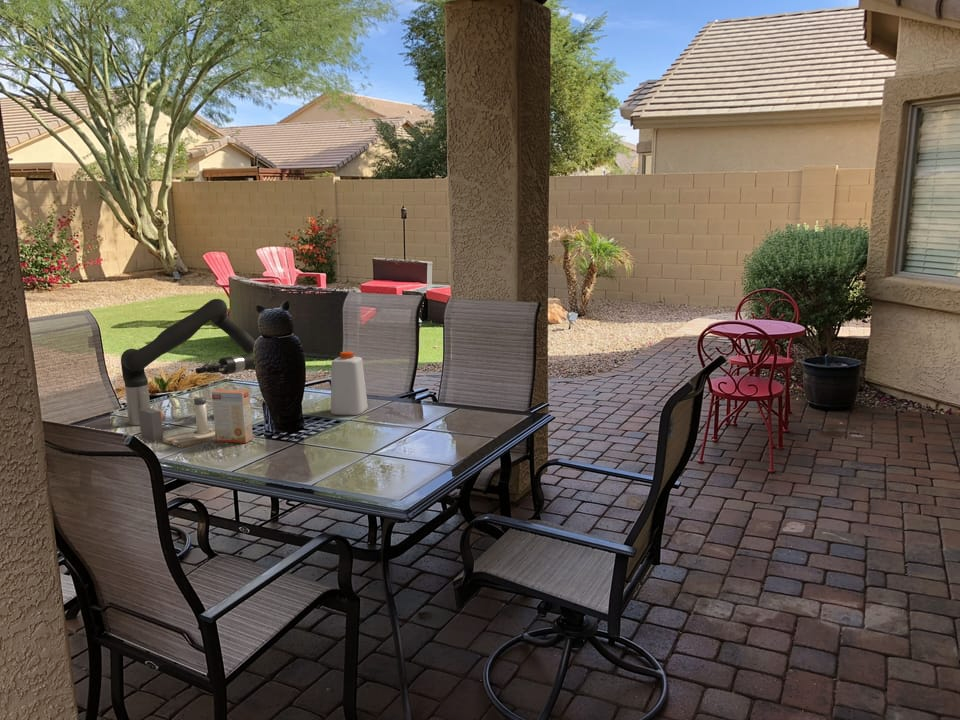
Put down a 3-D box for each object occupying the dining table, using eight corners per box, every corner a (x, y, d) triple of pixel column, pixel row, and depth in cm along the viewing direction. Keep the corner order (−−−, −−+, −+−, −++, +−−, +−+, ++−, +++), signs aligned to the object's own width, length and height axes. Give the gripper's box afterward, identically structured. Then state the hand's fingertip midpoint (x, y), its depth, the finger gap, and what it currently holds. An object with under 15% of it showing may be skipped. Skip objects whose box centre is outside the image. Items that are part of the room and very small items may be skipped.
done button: (154, 420, 312) (152, 410, 311) (158, 419, 313) (157, 409, 313) (159, 422, 309) (158, 411, 308) (163, 421, 311) (162, 410, 310)
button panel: (141, 437, 311) (138, 409, 309) (151, 435, 315) (148, 407, 312) (154, 441, 305) (151, 413, 303) (164, 439, 309) (161, 411, 306)
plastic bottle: (360, 416, 340) (357, 355, 335) (328, 415, 342) (324, 355, 337) (370, 408, 355) (367, 349, 349) (339, 407, 357) (336, 349, 352)
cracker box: (253, 439, 306) (250, 389, 302) (245, 444, 300) (241, 393, 297) (224, 437, 310) (219, 388, 306) (215, 441, 304) (210, 391, 300)
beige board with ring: (162, 441, 305) (162, 437, 305) (206, 430, 321) (206, 426, 320) (181, 447, 297) (181, 443, 296) (225, 435, 312) (225, 432, 312)
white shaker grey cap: (194, 431, 313) (191, 399, 310) (204, 429, 317) (201, 396, 314) (200, 433, 310) (197, 400, 308) (210, 430, 314) (207, 398, 311)
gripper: (222, 355, 338) (187, 361, 324) (240, 358, 330) (204, 364, 316) (223, 371, 339) (188, 378, 326) (241, 374, 331) (206, 381, 318)
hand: (196, 371), depth 321 cm, fingers closed
